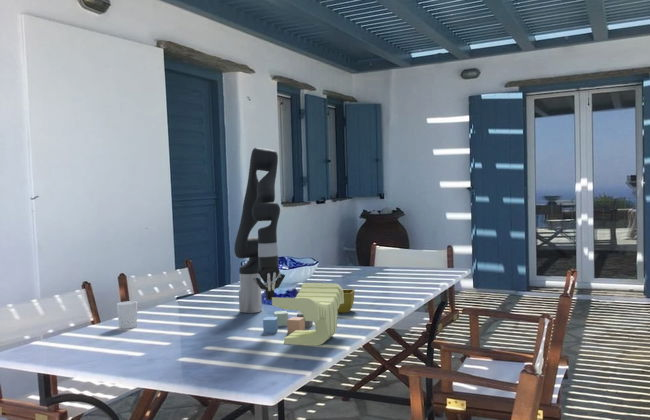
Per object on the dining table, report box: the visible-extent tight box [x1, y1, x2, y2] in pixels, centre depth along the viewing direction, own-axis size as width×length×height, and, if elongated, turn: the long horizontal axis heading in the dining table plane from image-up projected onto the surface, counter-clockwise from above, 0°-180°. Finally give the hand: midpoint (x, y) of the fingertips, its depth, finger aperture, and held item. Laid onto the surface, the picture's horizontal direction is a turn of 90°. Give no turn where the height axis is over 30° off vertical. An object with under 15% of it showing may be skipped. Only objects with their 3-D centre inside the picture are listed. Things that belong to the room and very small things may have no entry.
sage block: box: [273, 310, 289, 327], centre depth 237 cm, size 5×5×5 cm
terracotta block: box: [286, 316, 306, 334], centre depth 224 cm, size 5×5×5 cm
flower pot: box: [337, 288, 355, 314], centre depth 257 cm, size 9×9×9 cm
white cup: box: [116, 300, 138, 330], centre depth 243 cm, size 8×8×10 cm
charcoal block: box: [296, 311, 314, 328], centre depth 234 cm, size 5×5×5 cm
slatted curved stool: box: [271, 282, 344, 346], centre depth 211 cm, size 30×16×18 cm, turn 162°
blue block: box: [262, 316, 279, 334], centre depth 226 cm, size 5×5×5 cm
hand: (270, 300), depth 226 cm, fingers closed
